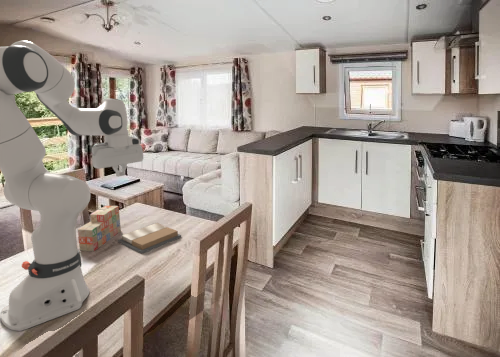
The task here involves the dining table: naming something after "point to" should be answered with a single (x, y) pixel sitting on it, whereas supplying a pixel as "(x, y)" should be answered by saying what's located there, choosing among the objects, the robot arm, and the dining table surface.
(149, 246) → the board
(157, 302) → the dining table surface
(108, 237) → the stack of blocks
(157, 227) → the ash plank
